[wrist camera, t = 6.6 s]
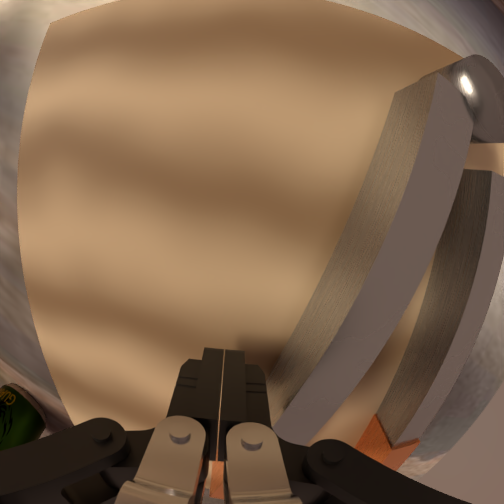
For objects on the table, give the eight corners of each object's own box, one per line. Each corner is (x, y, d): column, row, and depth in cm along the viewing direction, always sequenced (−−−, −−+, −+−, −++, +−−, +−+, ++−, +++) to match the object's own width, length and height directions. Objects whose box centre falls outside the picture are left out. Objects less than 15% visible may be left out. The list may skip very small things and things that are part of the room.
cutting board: (64, 32, 8) (50, 23, 6) (482, 86, 9) (498, 83, 8) (101, 450, 16) (96, 463, 14) (374, 463, 17) (379, 475, 15)
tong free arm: (402, 47, 7) (445, 19, 4) (470, 103, 8) (518, 94, 5) (212, 455, 13) (209, 498, 10) (277, 466, 13) (281, 506, 10)
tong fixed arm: (445, 167, 9) (494, 170, 6) (472, 178, 9) (518, 183, 6) (347, 457, 14) (358, 489, 11) (372, 453, 14) (384, 483, 11)
